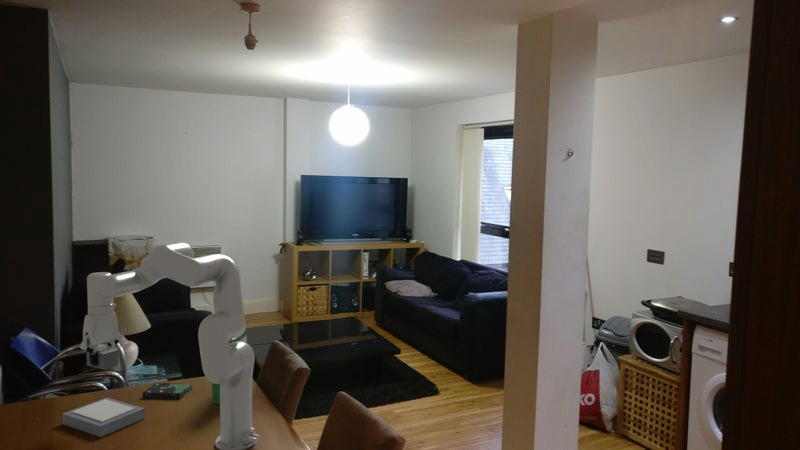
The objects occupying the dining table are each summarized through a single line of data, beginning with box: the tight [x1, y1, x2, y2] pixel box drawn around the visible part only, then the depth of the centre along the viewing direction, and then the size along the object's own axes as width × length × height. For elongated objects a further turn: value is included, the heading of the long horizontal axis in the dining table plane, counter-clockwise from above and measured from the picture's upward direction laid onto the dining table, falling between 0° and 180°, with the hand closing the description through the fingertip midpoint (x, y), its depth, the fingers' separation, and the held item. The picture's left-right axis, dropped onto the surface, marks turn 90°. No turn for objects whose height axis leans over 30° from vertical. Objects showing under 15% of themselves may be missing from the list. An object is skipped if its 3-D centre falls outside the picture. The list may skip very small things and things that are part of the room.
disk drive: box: [141, 382, 193, 400], centre depth 211 cm, size 10×3×15 cm
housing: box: [85, 344, 119, 371], centre depth 184 cm, size 5×9×6 cm, turn 63°
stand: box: [61, 397, 146, 438], centre depth 186 cm, size 20×16×4 cm
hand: (102, 362), depth 184 cm, fingers closed on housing, 5 cm apart
